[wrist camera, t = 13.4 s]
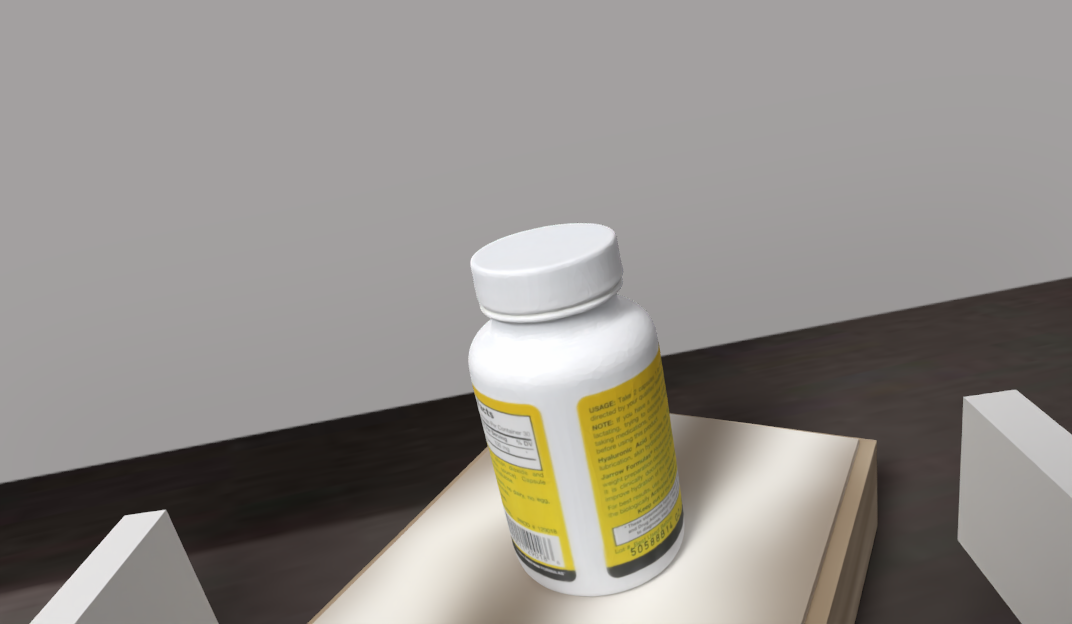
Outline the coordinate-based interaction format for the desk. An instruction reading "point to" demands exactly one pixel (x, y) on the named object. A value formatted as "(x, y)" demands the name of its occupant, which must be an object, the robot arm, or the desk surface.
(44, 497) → the desk surface
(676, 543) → the supplement bottle
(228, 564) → the desk surface
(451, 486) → the pedestal
